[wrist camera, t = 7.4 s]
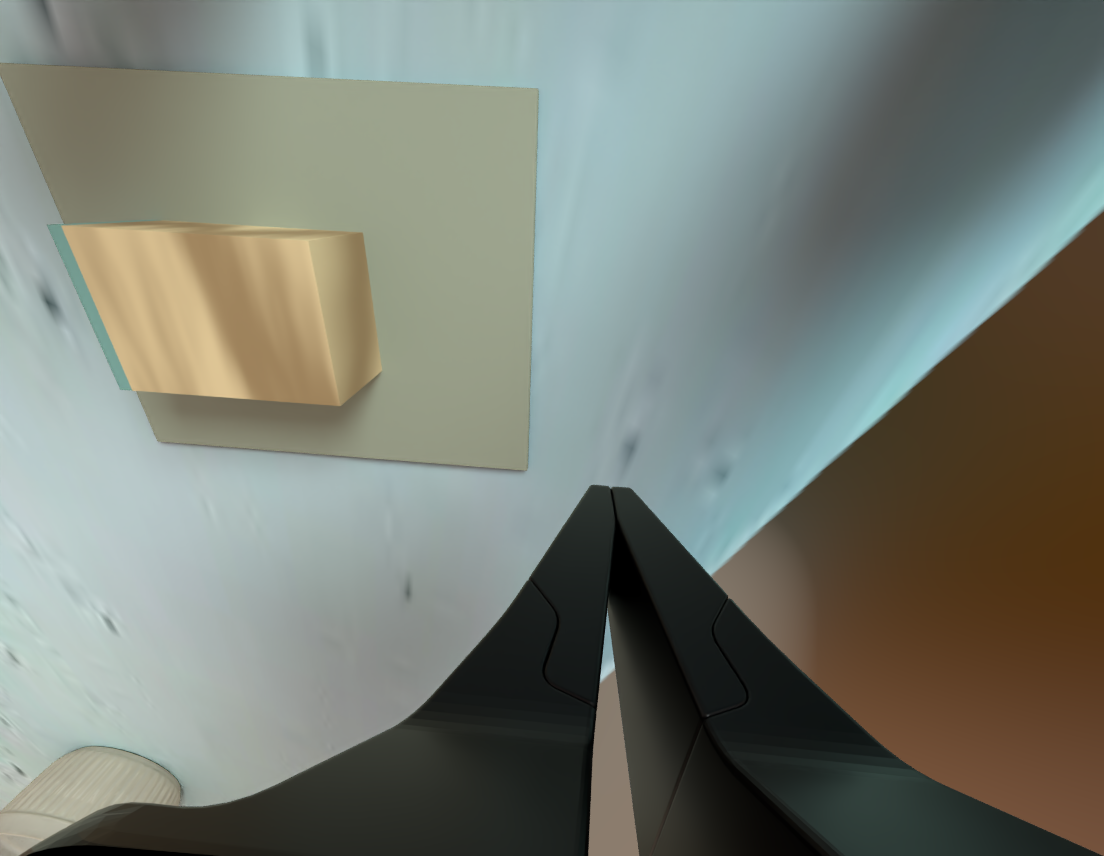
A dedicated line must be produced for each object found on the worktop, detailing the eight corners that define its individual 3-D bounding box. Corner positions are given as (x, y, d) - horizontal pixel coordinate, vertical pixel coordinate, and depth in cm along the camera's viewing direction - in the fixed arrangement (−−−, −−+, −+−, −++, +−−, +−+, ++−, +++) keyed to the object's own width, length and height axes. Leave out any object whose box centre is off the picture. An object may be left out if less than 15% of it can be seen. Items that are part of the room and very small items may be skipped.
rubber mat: (538, 90, 16) (537, 88, 15) (528, 466, 23) (527, 470, 23) (7, 65, 16) (-5, 62, 16) (163, 437, 24) (157, 441, 23)
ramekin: (136, 812, 48) (69, 903, 41) (28, 749, 42) (-67, 843, 36) (223, 796, 44) (164, 893, 38) (117, 725, 39) (30, 824, 33)
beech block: (308, 240, 14) (46, 224, 15) (340, 406, 17) (120, 389, 17) (363, 232, 18) (151, 219, 18) (382, 370, 21) (198, 357, 21)
